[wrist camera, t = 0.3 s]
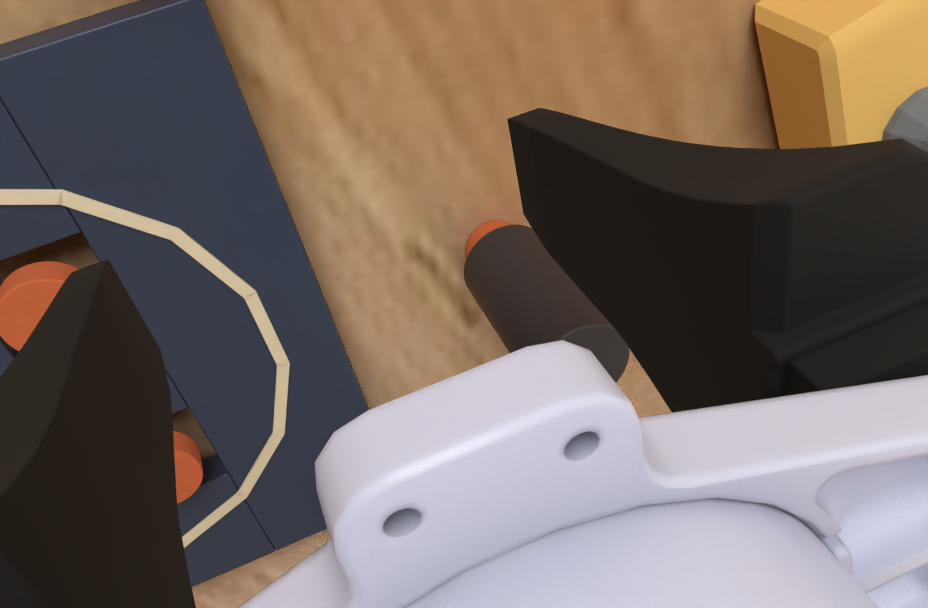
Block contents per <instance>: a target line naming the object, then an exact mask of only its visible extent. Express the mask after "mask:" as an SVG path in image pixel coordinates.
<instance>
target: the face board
mask: <svg viewBox="0 0 928 608" xmlns="http://www.w3.org/2000/svg"><path fill="white" fill-rule="evenodd" d="M80 232H82V233H83V235H84V236H85V238H86V240H87V241H88V243H89V245H90V246H91V248H92V250H93V251H94V253H95V254H96V256H97V258H98V259H99V261H100V262H102V261H105V260H108V259H109V261H110V263H111V265H112V266H113V268H114V270H115V272H116V273H117V275H118V277H119V278H120V280H121V282H122V284H123V285H124V287H125V289H126V291H127V292H128V294H129V296H130V297H131V299H132V301H133V303H134V304H135V306H136V308H137V309H138V311H139V313H140V315H141V316H142V318H143V320H144V322H145V323H146V325H147V327H148V328H149V330H150V332H151V334H152V335H153V337H154V339H155V341H156V342H157V344H158V346H159V347H160V349H161V353H162V358H163V362H164V366H165V371H166V375H167V380H168V385H169V390H170V394H171V405H172V414H173V413H176V412H178V411H181V410H183V409H186V408H187V406H188V407H189V409H190V411H191V412H192V414H193V415H194V417H195V419H196V420H197V422H198V424H199V425H200V427H201V429H202V430H203V432H204V434H205V435H206V437H207V438H208V440H209V442H210V443H211V445H212V447H213V448H214V450H215V452H216V453H217V454H216V455H214V456H211V457H209V458H206V459H204V460H201V462H202V469H203V478H202V482H201V484H200V486H199V488H198V489H197V490H196V491H195V493H194V494H192V495H191V496H190V497H189V498H187V499H186V500H184V501H182V502H180V503H178V504H177V506H178V516H179V524H180V530H181V535H182V540H183V546H184V551H185V557H186V562H187V568H188V573H189V577H190V582H191V587H193V586H195V585H197V584H200V583H202V582H204V581H207V580H209V579H211V578H214V577H216V576H218V575H221V574H223V573H225V572H228V571H230V570H232V569H235V568H237V567H239V566H242V565H244V564H246V563H249V562H251V561H253V560H256V559H258V558H260V557H263V556H265V555H267V554H269V553H272V552H274V551H275V550H278V549H281V548H283V547H285V546H288V545H290V544H292V543H295V542H297V541H299V540H301V539H304V538H306V537H308V536H311V535H313V534H315V533H318V532H320V531H322V530H325V529H327V526H326V522H325V519H324V515H323V512H322V508H321V505H320V501H319V498H318V494H317V490H316V475H315V461H316V459H317V458H318V456H319V455H320V453H321V451H322V450H323V448H324V447H325V445H326V444H327V442H328V440H329V439H330V437H331V436H332V434H333V433H334V432H335V431H336V430H338V429H340V428H341V427H343V426H344V425H346V424H347V423H349V422H350V421H352V420H354V419H355V418H357V417H358V416H360V415H361V414H363V413H365V412H366V411H368V410H369V408H368V405H367V403H366V400H365V398H364V395H363V393H362V390H361V388H360V385H359V383H358V381H357V378H356V376H355V373H354V371H353V368H352V366H351V363H350V361H349V358H348V356H347V353H346V351H345V348H344V346H343V343H342V341H341V338H340V336H339V333H338V331H337V328H336V326H335V323H334V321H333V318H332V316H331V313H330V311H329V308H328V306H327V304H326V301H325V299H324V296H323V294H322V291H321V289H320V286H319V284H318V281H317V279H316V276H315V274H314V271H313V269H312V266H311V264H310V261H309V259H308V256H307V254H306V251H305V249H304V246H303V244H302V241H301V239H300V236H299V234H298V231H297V229H296V227H295V224H294V222H293V219H292V217H291V214H290V212H289V209H288V207H287V204H286V202H285V199H284V197H283V194H282V192H281V189H280V187H279V184H278V182H277V179H276V177H275V174H274V172H273V169H272V167H271V164H270V162H269V159H268V157H267V154H266V152H265V150H264V147H263V145H262V142H261V140H260V137H259V135H258V132H257V130H256V127H255V125H254V122H253V120H252V117H251V115H250V112H249V110H248V107H247V105H246V102H245V100H244V97H243V95H242V92H241V90H240V87H239V85H238V82H237V80H236V77H235V75H234V73H233V70H232V68H231V65H230V63H229V60H228V58H227V55H226V53H225V50H224V48H223V45H222V43H221V40H220V38H219V35H218V33H217V30H216V28H215V25H214V23H213V20H212V18H211V15H210V13H209V10H208V8H207V5H206V3H205V0H139V1H136V2H133V3H130V4H127V5H124V6H121V7H117V8H114V9H111V10H108V11H105V12H102V13H98V14H95V15H92V16H89V17H86V18H83V19H80V20H76V21H73V22H70V23H67V24H64V25H61V26H58V27H54V28H51V29H48V30H45V31H42V32H39V33H35V34H32V35H29V36H26V37H23V38H20V39H17V40H13V41H10V42H7V43H4V44H1V45H0V261H2V260H4V259H7V258H10V257H13V256H16V255H18V254H21V253H24V252H27V251H30V250H32V249H35V248H38V247H41V246H44V245H47V244H49V243H52V242H55V241H58V240H61V239H63V238H66V237H69V236H72V235H75V234H77V233H80ZM18 352H19V351H17V350H15V349H14V348H12V347H11V346H10V345H9V344H7V343H6V342H5V341H4V339H3V338H2V337H1V336H0V377H1V375H2V374H3V373H4V371H5V370H6V369H7V367H8V366H9V365H10V363H11V362H12V360H13V359H14V358H15V356H16V355H17V354H18Z"/></svg>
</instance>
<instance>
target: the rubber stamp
mask: <svg viewBox="0 0 928 608" xmlns="http://www.w3.org/2000/svg"><path fill="white" fill-rule="evenodd" d="M755 25H756V30H757V35H758V41H759V46H760V51H761V56H762V61H763V66H764V71H765V76H766V81H767V86H768V91H769V96H770V101H771V106H772V111H773V117H774V122H775V127H776V132H777V137H778V142H779V147H780V149H799V148H816V147H833V146H844V145H851V144H859V143H867V142H875V141H883V140H891V139H898V138H902V139H904V140H906V141H908V142H910V143H912V144H914V145H916V146H917V147H919V148H921V149H923V150H925V151H927V152H928V0H761V1H759V2H758V3H756V4H755Z"/></svg>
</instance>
